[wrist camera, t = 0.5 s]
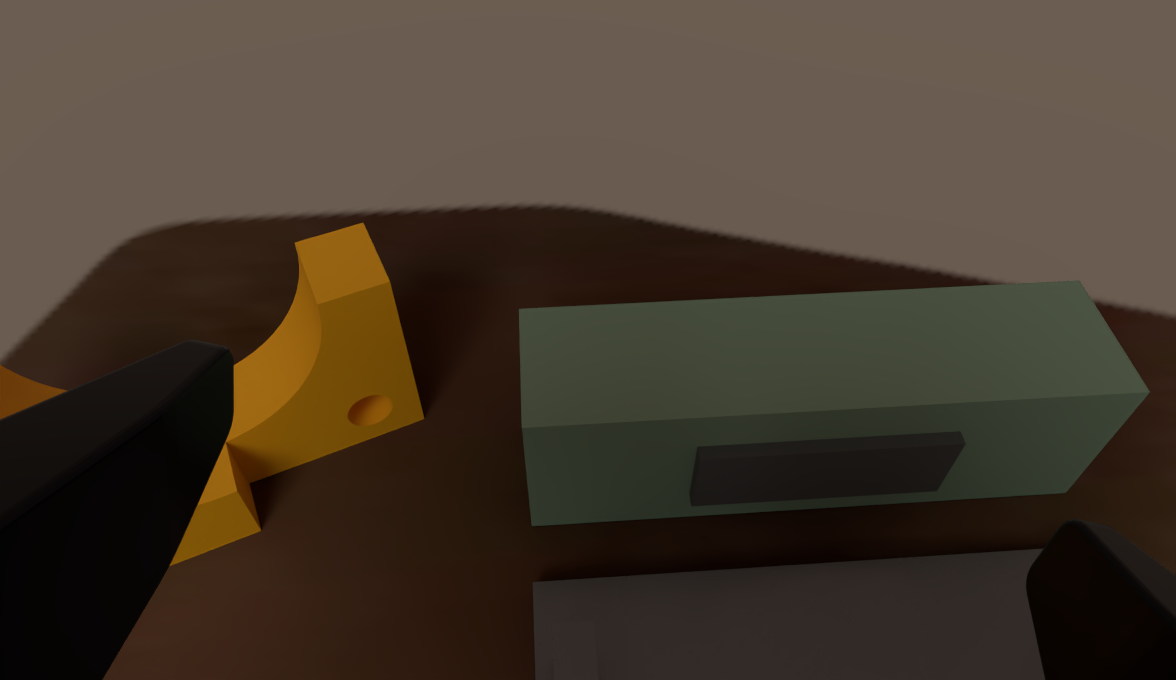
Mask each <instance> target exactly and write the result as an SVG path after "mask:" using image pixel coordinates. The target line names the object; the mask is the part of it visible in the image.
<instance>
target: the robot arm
mask: <svg viewBox="0 0 1176 680" xmlns="http://www.w3.org/2000/svg"><path fill="white" fill-rule="evenodd" d="M233 416H234V360H233V356H232V352H231V351H230V350H229V349H228V348H227V347H225V346H221V345H216V344H212V343H207V342H202V341H197V340H187V341H184V342H181V343H178V344H176V345H174V346H171V347H169V348H167V349H164V350H162V351H160V352H157V353H155V354H153V355H150V356H148V357H146V358H143V359H141V360H138V361H136V362H134V363H131V364H129V365H127V366H124V367H122V368H120V369H117V370H115V371H113V372H110V373H108V374H106V375H103V376H101V377H99V378H96V379H94V380H92V381H89V382H87V383H85V384H82V385H80V386H77V387H75V388H73V389H70V390H68V391H66V392H63V393H61V394H59V395H56V396H54V397H52V398H49V399H47V400H45V401H42V402H40V403H38V404H35V405H33V406H31V407H28V408H26V409H24V410H21V411H19V412H16V413H14V414H12V415H9V416H7V417H5V418H2V419H0V680H102V679H103V678H104V676H105V674H106V673H107V671H108V669H109V668H110V666H111V664H112V662H113V661H114V659H115V657H116V656H117V654H118V652H119V651H120V649H121V647H122V646H123V644H124V642H125V641H126V639H127V637H128V636H129V634H130V632H131V631H132V629H133V627H134V626H135V624H136V622H137V620H138V619H139V617H140V615H141V614H142V612H143V610H144V609H145V607H146V605H147V604H148V602H149V600H150V599H151V597H152V595H153V594H154V592H155V590H156V589H157V587H158V585H159V584H160V582H161V580H162V578H163V576H164V575H165V573H166V571H167V569H168V567H169V566H170V564H171V562H172V560H173V558H174V556H175V554H176V552H177V550H178V547H179V545H180V543H181V541H182V539H183V537H184V534H185V532H186V530H187V528H188V525H189V523H190V521H191V519H192V516H193V514H194V512H195V510H196V507H197V505H198V503H199V501H200V498H201V496H202V494H203V492H204V489H205V487H206V485H207V482H208V480H209V478H210V476H211V473H212V471H213V469H214V467H215V464H216V462H217V460H218V458H219V455H220V453H221V451H222V449H223V446H224V444H225V442H226V440H227V437H228V435H229V432H230V429H231V426H232V422H233ZM1026 592H1027V597H1028V602H1029V607H1030V611H1031V616H1032V621H1033V625H1034V630H1035V635H1036V639H1037V644H1038V649H1039V654H1040V658H1041V663H1042V668H1043V672H1044V677H1045V680H1176V576H1175V575H1174V574H1173V573H1171V572H1170V571H1169V570H1167V569H1166V568H1165V567H1163V566H1162V565H1161V564H1159V563H1158V562H1157V561H1155V560H1154V559H1153V558H1151V557H1150V556H1149V555H1147V554H1146V553H1145V552H1144V551H1142V550H1141V549H1140V548H1138V547H1137V546H1136V545H1134V544H1133V543H1132V542H1130V541H1129V540H1128V539H1126V538H1125V537H1124V536H1122V535H1121V534H1120V533H1118V532H1117V531H1116V530H1114V529H1113V528H1111V527H1109V526H1106V525H1103V524H1098V523H1093V522H1088V521H1083V520H1078V519H1073V520H1068V521H1066V522H1065V523H1063V524H1062V525H1061V526H1060V527H1059V528H1058V529H1057V531H1056V532H1055V534H1054V535H1053V536H1052V538H1051V539H1050V540H1049V542H1048V543H1047V545H1046V546H1045V547H1044V549H1043V550H1042V551H1041V553H1040V554H1039V556H1038V557H1037V558H1036V560H1035V561H1034V562H1033V564H1032V565H1031V567H1030V569H1029V571H1028V574H1027V579H1026Z"/></svg>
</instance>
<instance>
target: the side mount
mask: <svg viewBox="0 0 1176 680" xmlns="http://www.w3.org/2000/svg"><path fill="white" fill-rule="evenodd" d="M1042 550H1043V549H1030V550H1015V551H1000V552H984V553H969V554H954V555H939V556H923V557H908V558H893V559H878V560H862V561H847V562H832V563H817V564H801V565H786V566H771V567H756V568H740V569H725V570H710V571H695V572H679V573H664V574H649V575H634V576H618V577H603V578H588V579H573V580H557V581H542V582H533V611H534V645H535V680H1045V677H1044V672H1043V668H1042V663H1041V658H1040V654H1039V649H1038V644H1037V639H1036V635H1035V630H1034V625H1033V621H1032V616H1031V611H1030V607H1029V602H1028V597H1027V592H1026V579H1027V574H1028V571H1029V569H1030V567H1031V565H1032V564H1033V562H1034V561H1035V560H1036V558H1037V557H1038V556H1039V554H1040V553H1041V551H1042Z"/></svg>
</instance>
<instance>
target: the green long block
mask: <svg viewBox="0 0 1176 680" xmlns="http://www.w3.org/2000/svg"><path fill="white" fill-rule="evenodd" d="M519 330H520V374H521V418H522V435H523V445H524V455H525V465H526V474H527V484H528V494H529V504H530V513H531V523H532V526H545V525H561V524H577V523H593V522H609V521H625V520H641V519H657V518H673V517H689V516H705V515H721V514H737V513H753V512H769V511H785V510H801V509H817V508H833V507H849V506H865V505H881V504H897V503H913V502H929V501H945V500H961V499H977V498H993V497H1009V496H1025V495H1041V494H1057V493H1066V492H1067V491H1068V489H1069V488H1070V487H1071V486H1072V485H1073V483H1074V482H1075V481H1076V480H1077V479H1078V478H1079V476H1080V475H1081V474H1082V473H1083V472H1084V470H1085V469H1086V468H1087V467H1088V466H1089V464H1090V463H1091V462H1092V461H1093V460H1094V458H1095V457H1096V456H1097V455H1098V454H1099V452H1100V451H1101V450H1102V449H1103V448H1104V446H1105V445H1106V444H1107V443H1108V442H1109V440H1110V439H1111V438H1112V437H1113V436H1114V434H1115V433H1116V432H1117V431H1118V430H1119V428H1120V427H1121V426H1122V425H1123V424H1124V422H1125V421H1126V420H1127V419H1128V418H1129V416H1130V415H1131V414H1132V413H1133V412H1134V410H1135V409H1136V408H1137V407H1138V406H1139V404H1140V403H1141V402H1142V401H1143V400H1144V398H1145V397H1146V396H1147V395H1148V394H1149V390H1148V388H1147V387H1146V385H1145V384H1144V382H1143V380H1142V379H1141V377H1140V376H1139V374H1138V372H1137V371H1136V369H1135V368H1134V366H1133V365H1132V363H1131V361H1130V360H1129V358H1128V357H1127V355H1126V353H1125V352H1124V350H1123V349H1122V347H1121V346H1120V344H1119V342H1118V341H1117V339H1116V338H1115V336H1114V334H1113V333H1112V331H1111V330H1110V328H1109V326H1108V325H1107V323H1106V322H1105V320H1104V319H1103V317H1102V315H1101V314H1100V312H1099V311H1098V309H1097V307H1096V306H1095V304H1094V303H1093V301H1092V300H1091V298H1090V296H1089V295H1088V293H1087V292H1086V290H1085V289H1084V287H1083V286H1082V284H1081V282H1080V281H1063V282H1041V283H1022V284H1002V285H982V286H963V287H943V288H923V289H903V290H884V291H864V292H844V293H824V294H805V295H785V296H765V297H745V298H726V299H706V300H686V301H666V302H647V303H627V304H607V305H587V306H568V307H548V308H528V309H519Z"/></svg>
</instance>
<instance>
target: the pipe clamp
mask: <svg viewBox="0 0 1176 680" xmlns="http://www.w3.org/2000/svg"><path fill="white" fill-rule="evenodd" d="M295 246H296V250H297V253H298V260H299V282H298V288H297V292H296V295H295V298H294V301H293V304H292V306H291V308H290V310H289V312H288V314H287V316H286V317H285V319H284V320H283V322H282V324H281V325H280V326H279V327H278V329H277V330H276V331H275V332H274V334H273V335H272V336H271V337H270V338H269V339H268V340H267V341H266V342H265V343H264V344H263V345H262V346H260V347H259V348H258V349H257V350H256V351H255V352H253V353H252V354H250V355H249V356H248V357H246V358H245V359H243V360H242V361H240V362H239V363H237V364H235V365H234V416H233V422H232V426H231V429H230V432H229V435H228V437H227V440H226V442H225V444H224V446H223V449H222V451H221V453H220V455H219V458H218V460H217V462H216V464H215V467H214V469H213V471H212V473H211V476H210V478H209V480H208V482H207V485H206V487H205V489H204V492H203V494H202V496H201V498H200V501H199V503H198V505H197V507H196V510H195V512H194V514H193V516H192V519H191V521H190V523H189V525H188V528H187V530H186V532H185V534H184V537H183V539H182V541H181V543H180V545H179V547H178V550H177V552H176V554H175V556H174V558H173V560H172V562H171V564H170V566H171V565H173V564H176V563H179V562H181V561H184V560H186V559H189V558H192V557H194V556H197V555H199V554H202V553H205V552H207V551H210V550H212V549H215V548H218V547H220V546H223V545H225V544H228V543H231V542H233V541H236V540H238V539H241V538H243V537H246V536H249V535H251V534H254V533H256V532H259V531H261V528H260V524H259V520H258V516H257V512H256V508H255V504H254V500H253V496H252V492H251V488H250V484H249V483H252V482H254V481H257V480H260V479H263V478H265V477H268V476H271V475H273V474H276V473H279V472H282V471H284V470H287V469H290V468H292V467H295V466H298V465H301V464H303V463H306V462H309V461H311V460H314V459H317V458H320V457H322V456H325V455H328V454H330V453H333V452H336V451H339V450H341V449H344V448H347V447H349V446H352V445H355V444H358V443H360V442H363V441H366V440H368V439H371V438H374V437H377V436H379V435H382V434H385V433H387V432H390V431H393V430H396V429H398V428H401V427H404V426H406V425H409V424H412V423H415V422H417V421H420V420H423V419H424V415H423V411H422V407H421V403H420V399H419V395H418V391H417V387H416V383H415V379H414V375H413V371H412V367H411V364H410V360H409V356H408V352H407V348H406V344H405V340H404V336H403V332H402V328H401V324H400V320H399V316H398V312H397V308H396V304H395V300H394V296H393V292H392V288H391V284H390V281H389V278H388V276H387V274H386V272H385V270H384V267H383V265H382V263H381V261H380V259H379V256H378V254H377V252H376V250H375V248H374V246H373V243H372V241H371V239H370V237H369V235H368V232H367V230H366V228H365V226H364V224H363V223H360V224H357V225H354V226H350V227H347V228H343V229H340V230H337V231H333V232H330V233H326V234H323V235H320V236H316V237H313V238H309V239H306V240H303V241H299V242H296V243H295ZM66 391H67V390H62V389H58V388H54V387H50V386H47V385H44V384H40V383H37V382H34V381H32V380H29V379H27V378H24V377H22V376H20V375H18V374H16V373H14V372H12V371H10V370H8V369H6V368H4V367H3V366H1V365H0V419H2V418H5V417H7V416H9V415H12V414H14V413H16V412H19V411H21V410H24V409H26V408H28V407H31V406H33V405H35V404H38V403H40V402H42V401H45V400H47V399H49V398H52V397H54V396H56V395H59V394H61V393H63V392H66Z"/></svg>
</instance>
